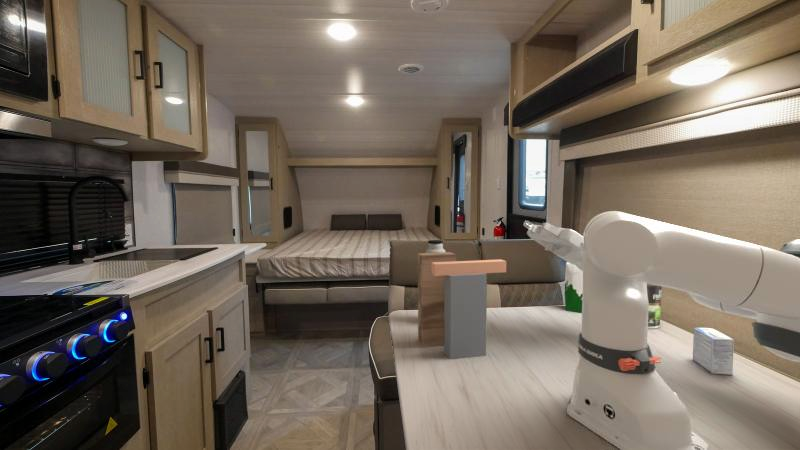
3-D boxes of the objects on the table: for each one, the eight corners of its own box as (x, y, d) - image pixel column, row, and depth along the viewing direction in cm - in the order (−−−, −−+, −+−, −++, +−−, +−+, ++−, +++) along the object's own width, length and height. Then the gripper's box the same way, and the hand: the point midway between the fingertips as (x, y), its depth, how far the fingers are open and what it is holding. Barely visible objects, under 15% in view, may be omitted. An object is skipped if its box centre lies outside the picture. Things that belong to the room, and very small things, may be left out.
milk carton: (589, 314, 130) (590, 259, 128) (562, 310, 135) (563, 257, 134) (593, 308, 137) (594, 256, 136) (567, 304, 142) (568, 254, 141)
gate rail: (506, 272, 97) (506, 261, 97) (434, 275, 93) (434, 264, 93) (500, 270, 100) (501, 259, 100) (431, 273, 96) (431, 262, 96)
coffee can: (664, 323, 120) (666, 281, 119) (655, 331, 113) (657, 287, 112) (628, 316, 128) (630, 277, 127) (618, 323, 121) (620, 281, 120)
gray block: (486, 355, 97) (486, 274, 95) (450, 359, 95) (450, 276, 93) (478, 348, 102) (478, 270, 100) (444, 351, 100) (444, 272, 98)
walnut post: (456, 344, 105) (456, 254, 103) (422, 347, 102) (422, 256, 101) (450, 337, 109) (450, 252, 108) (418, 340, 107) (417, 253, 106)
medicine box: (733, 375, 85) (735, 339, 84) (711, 374, 86) (713, 338, 85) (711, 361, 93) (713, 327, 92) (691, 359, 94) (693, 326, 93)
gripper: (589, 260, 98) (551, 236, 95) (544, 250, 118) (511, 230, 115) (600, 240, 98) (562, 215, 95) (553, 233, 118) (520, 213, 115)
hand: (534, 223), depth 105 cm, fingers open, 8 cm apart
